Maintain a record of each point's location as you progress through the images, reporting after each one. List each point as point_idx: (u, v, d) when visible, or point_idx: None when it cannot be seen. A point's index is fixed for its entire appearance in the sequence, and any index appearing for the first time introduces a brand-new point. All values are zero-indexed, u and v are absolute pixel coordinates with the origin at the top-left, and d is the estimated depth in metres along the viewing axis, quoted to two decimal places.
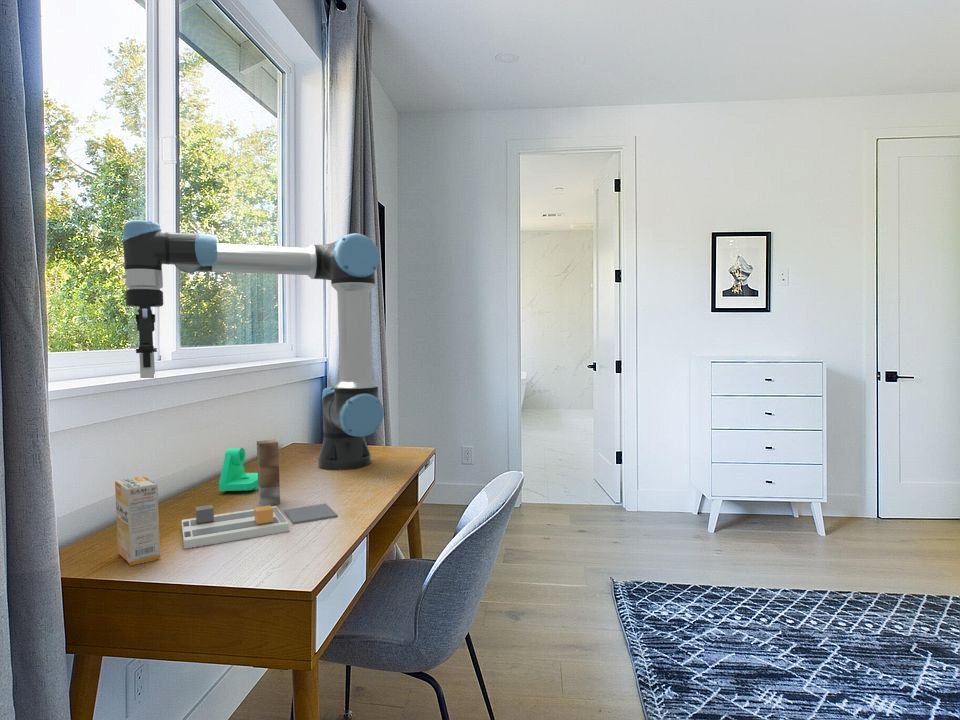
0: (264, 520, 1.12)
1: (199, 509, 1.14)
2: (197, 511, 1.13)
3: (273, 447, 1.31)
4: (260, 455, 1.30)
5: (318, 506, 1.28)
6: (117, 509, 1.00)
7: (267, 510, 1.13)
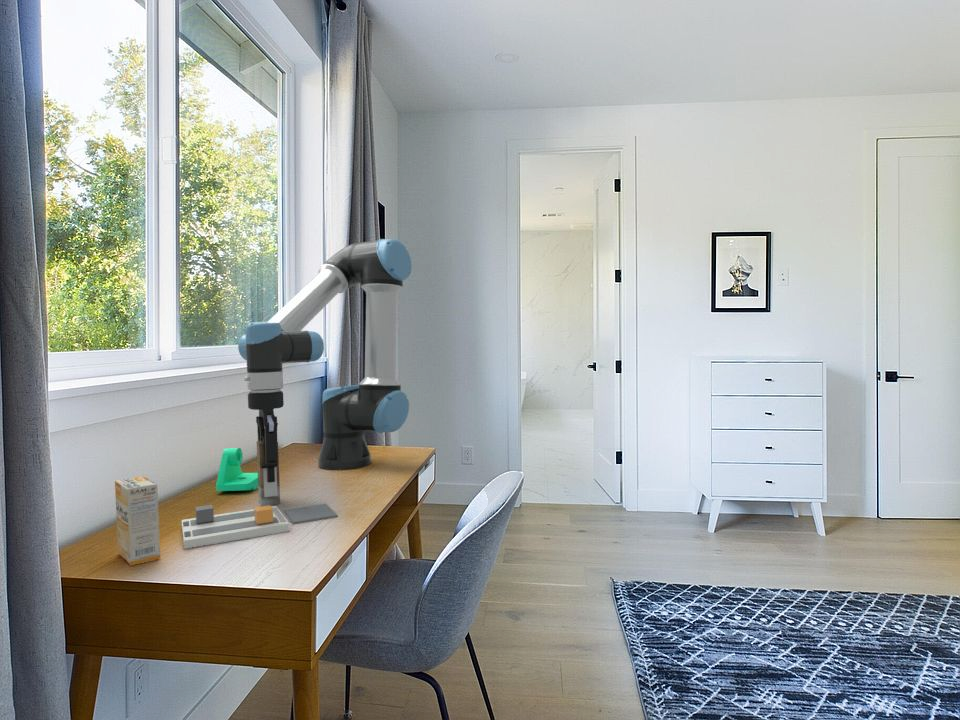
0: (264, 520, 1.12)
1: (199, 509, 1.14)
2: (197, 511, 1.13)
3: None
4: (260, 455, 1.30)
5: (318, 506, 1.28)
6: (117, 509, 1.00)
7: (267, 510, 1.13)
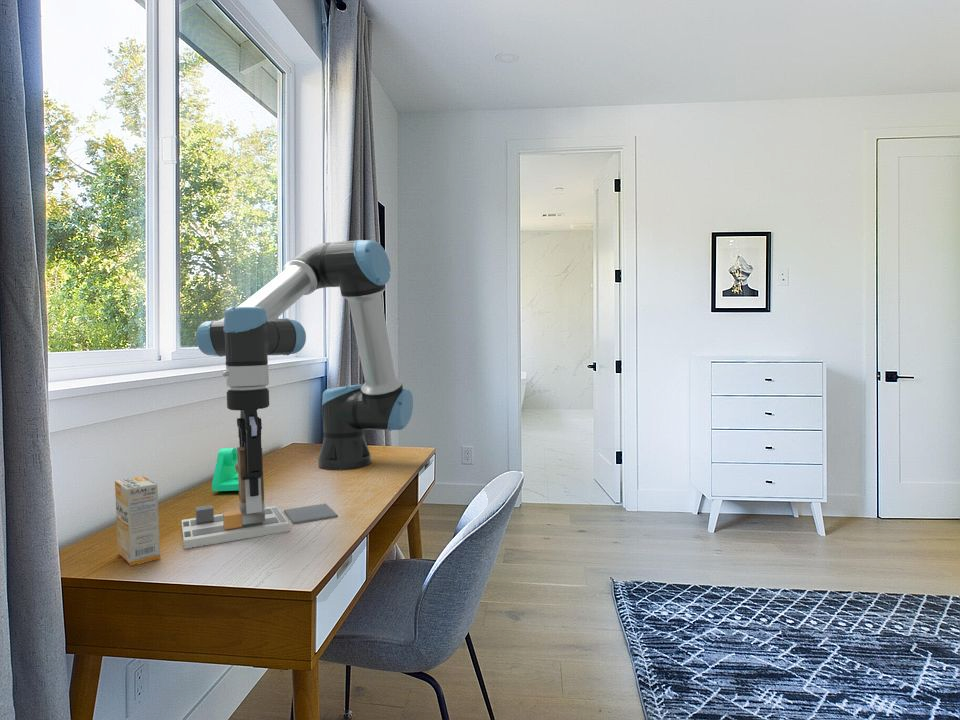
0: (232, 525, 1.10)
1: (199, 509, 1.14)
2: (197, 511, 1.13)
3: None
4: (241, 464, 1.10)
5: (318, 506, 1.28)
6: (117, 509, 1.00)
7: (236, 515, 1.10)
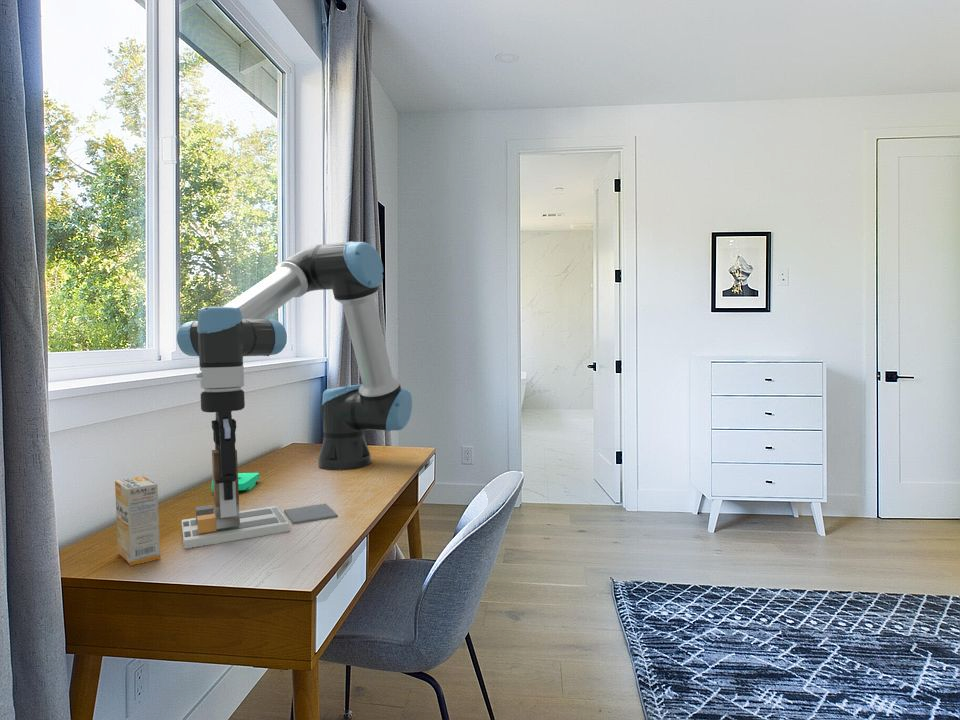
0: (206, 529, 1.07)
1: (199, 509, 1.14)
2: (197, 511, 1.13)
3: None
4: (215, 467, 1.07)
5: (318, 506, 1.28)
6: (117, 509, 1.00)
7: (210, 519, 1.08)
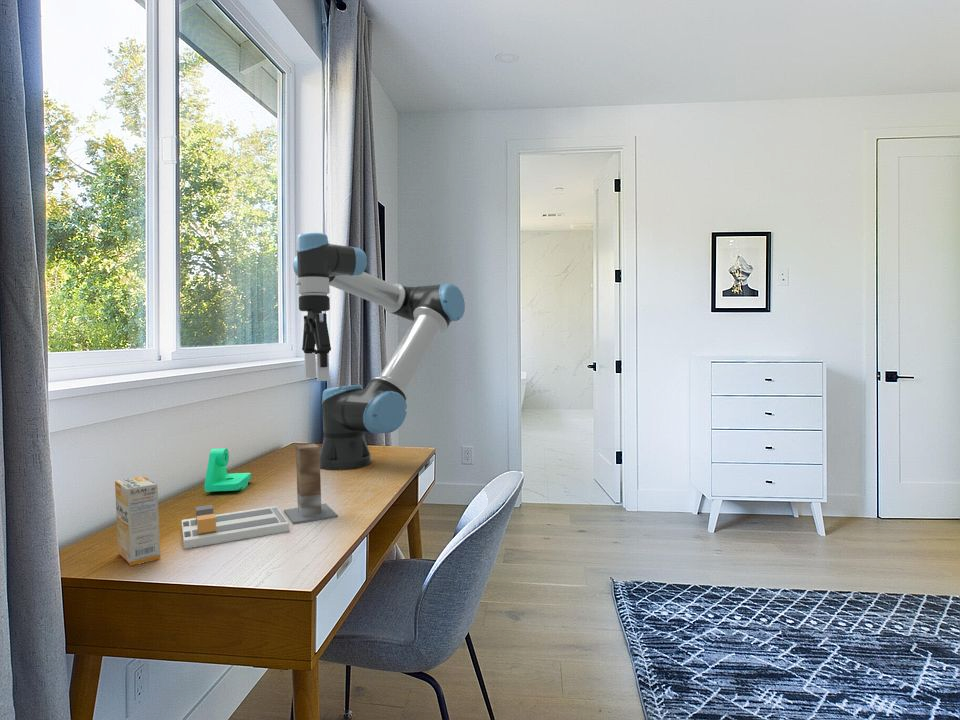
0: (206, 529, 1.07)
1: (199, 509, 1.14)
2: (197, 511, 1.13)
3: (314, 452, 1.22)
4: (301, 461, 1.20)
5: None
6: (117, 509, 1.00)
7: (209, 519, 1.08)
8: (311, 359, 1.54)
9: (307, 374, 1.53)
